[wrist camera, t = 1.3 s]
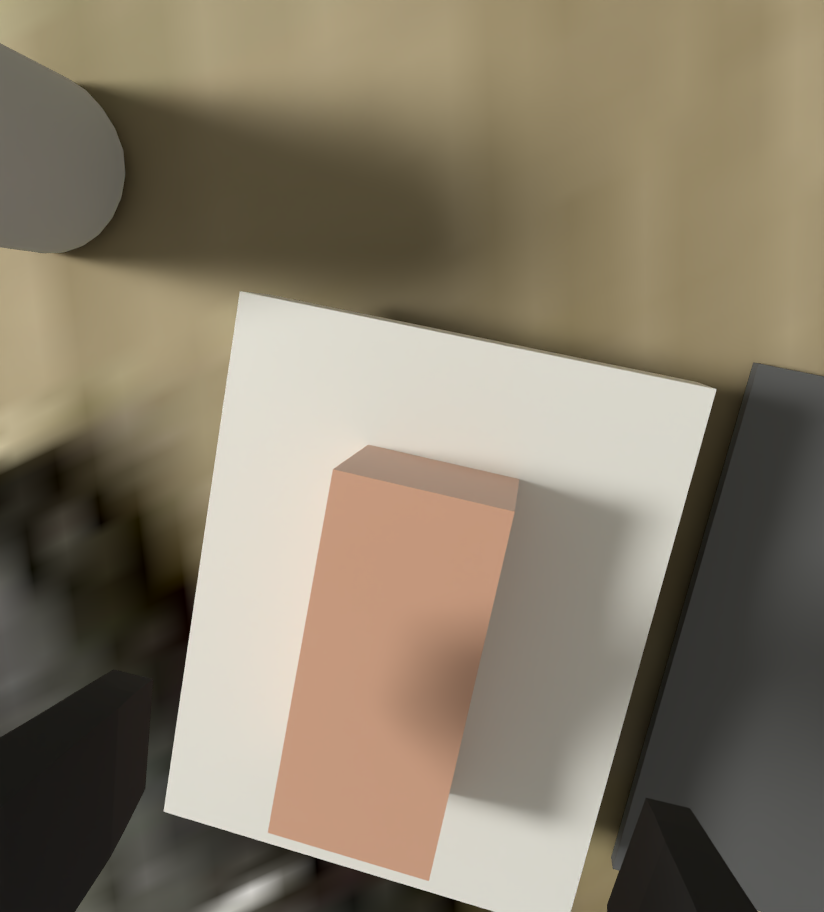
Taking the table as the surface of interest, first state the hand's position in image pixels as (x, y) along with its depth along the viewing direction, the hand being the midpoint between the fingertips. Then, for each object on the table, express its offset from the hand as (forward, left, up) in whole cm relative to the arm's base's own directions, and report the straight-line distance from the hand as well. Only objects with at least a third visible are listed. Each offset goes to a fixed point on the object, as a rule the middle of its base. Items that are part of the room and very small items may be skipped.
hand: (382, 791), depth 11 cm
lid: (-1, +1, -9) cm, 9 cm away
